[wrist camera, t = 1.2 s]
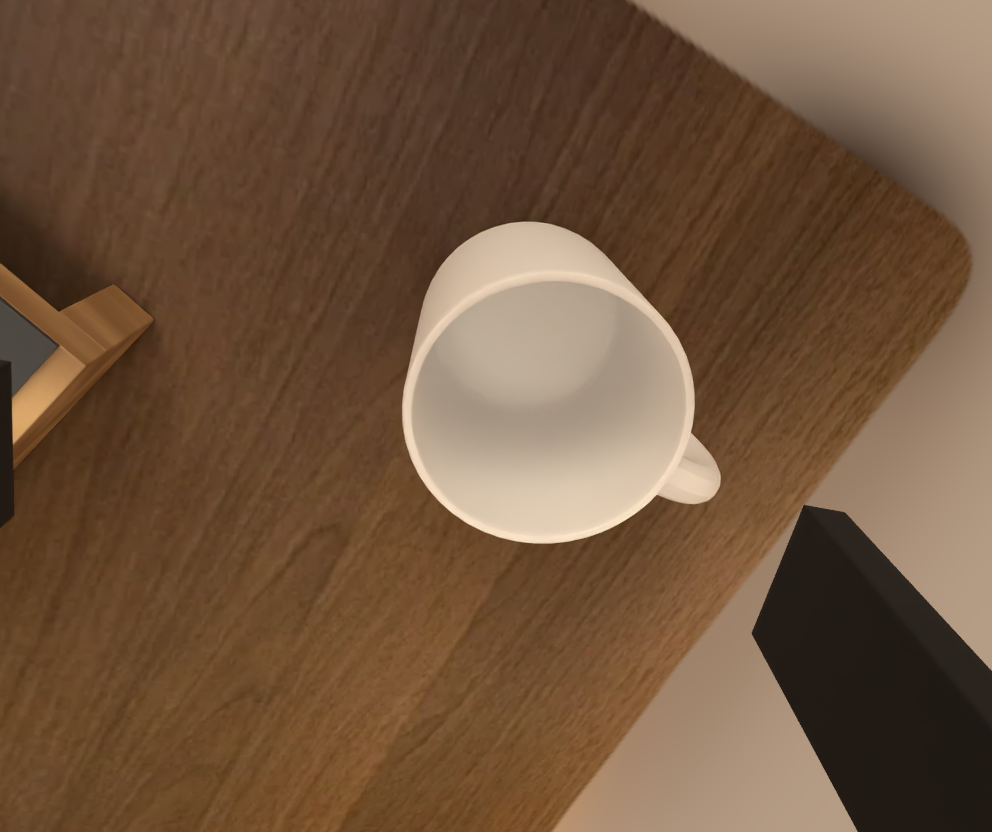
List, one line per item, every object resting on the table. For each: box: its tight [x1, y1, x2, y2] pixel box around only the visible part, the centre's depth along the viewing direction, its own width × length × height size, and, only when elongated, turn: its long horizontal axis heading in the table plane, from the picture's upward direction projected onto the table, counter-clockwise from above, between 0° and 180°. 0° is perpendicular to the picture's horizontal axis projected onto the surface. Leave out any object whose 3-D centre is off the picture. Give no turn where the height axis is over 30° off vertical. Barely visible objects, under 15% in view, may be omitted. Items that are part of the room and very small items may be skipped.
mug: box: [402, 222, 721, 543], centre depth 27 cm, size 12×8×10 cm
